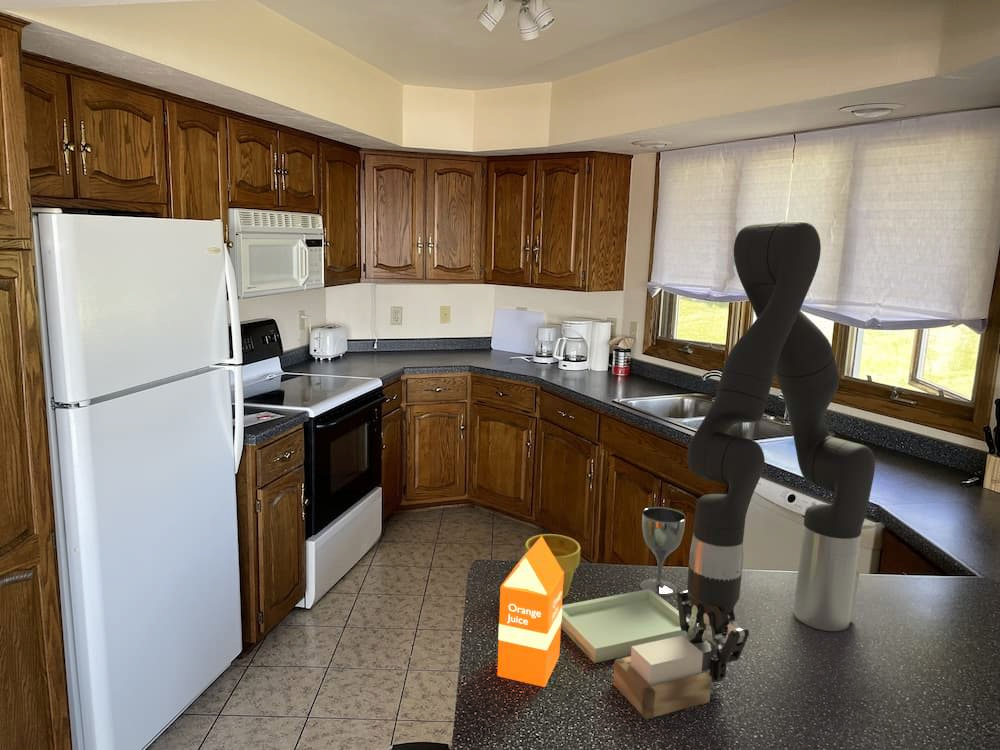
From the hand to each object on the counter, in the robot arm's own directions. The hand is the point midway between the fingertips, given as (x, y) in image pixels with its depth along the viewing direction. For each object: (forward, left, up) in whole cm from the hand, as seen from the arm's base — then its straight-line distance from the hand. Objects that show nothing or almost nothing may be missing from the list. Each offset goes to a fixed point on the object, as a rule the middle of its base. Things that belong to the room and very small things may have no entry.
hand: (705, 670), depth 107 cm
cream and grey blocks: (+5, 0, -2) cm, 5 cm away
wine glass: (-12, -28, -2) cm, 30 cm away
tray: (+3, -17, -2) cm, 17 cm away
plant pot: (+9, -33, -2) cm, 34 cm away
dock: (+7, 0, -2) cm, 8 cm away
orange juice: (+23, -13, -2) cm, 27 cm away
